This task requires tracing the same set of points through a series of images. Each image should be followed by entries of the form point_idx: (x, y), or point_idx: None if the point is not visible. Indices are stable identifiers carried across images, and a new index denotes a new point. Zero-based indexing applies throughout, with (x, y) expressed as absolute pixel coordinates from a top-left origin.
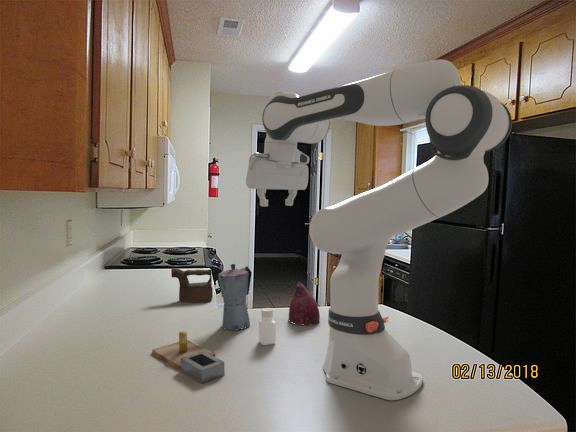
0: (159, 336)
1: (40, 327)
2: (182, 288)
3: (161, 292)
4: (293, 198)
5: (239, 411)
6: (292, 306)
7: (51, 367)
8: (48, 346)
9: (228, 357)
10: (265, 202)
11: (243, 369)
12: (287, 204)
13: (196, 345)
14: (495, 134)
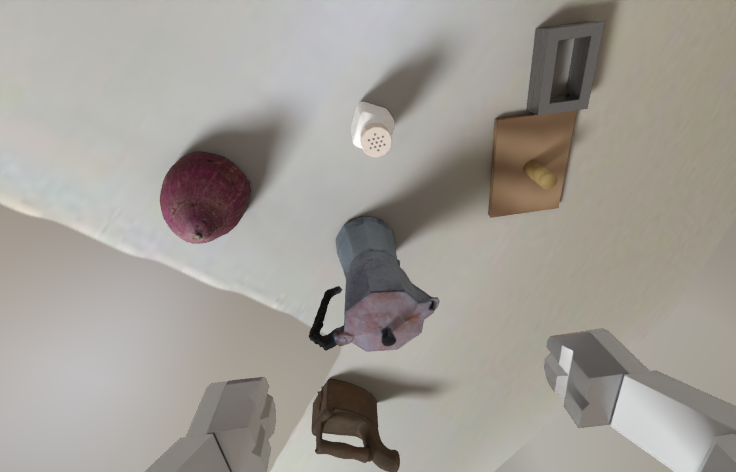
0: (501, 267)
1: None
2: (375, 421)
3: None
4: (180, 448)
5: None
6: (237, 209)
7: (672, 237)
8: (627, 310)
9: (476, 102)
10: (609, 351)
11: (494, 25)
12: (264, 401)
13: (496, 180)
14: None
